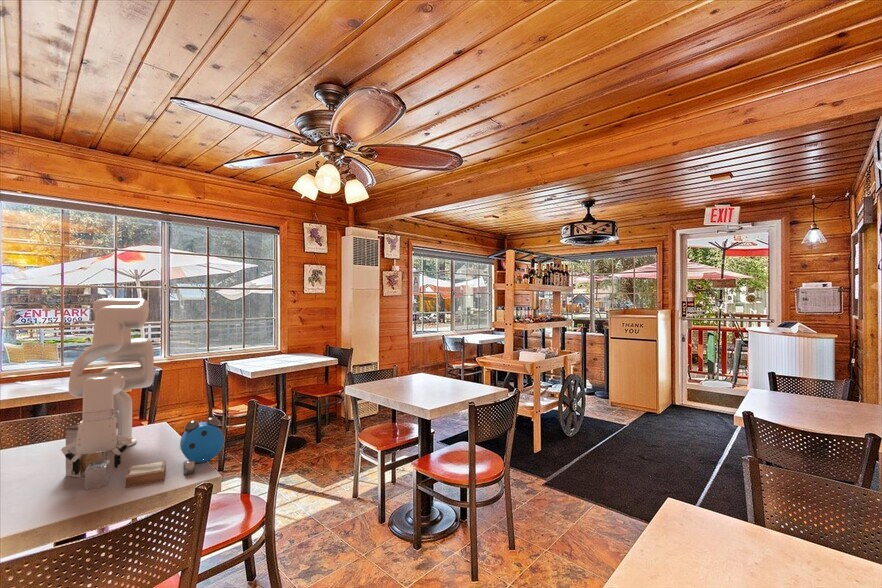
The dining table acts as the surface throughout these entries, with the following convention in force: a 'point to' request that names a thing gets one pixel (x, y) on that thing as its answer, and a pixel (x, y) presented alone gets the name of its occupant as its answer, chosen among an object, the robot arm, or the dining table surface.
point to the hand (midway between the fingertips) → (97, 470)
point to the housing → (97, 474)
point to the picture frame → (145, 474)
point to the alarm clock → (202, 440)
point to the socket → (189, 467)
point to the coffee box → (85, 458)
